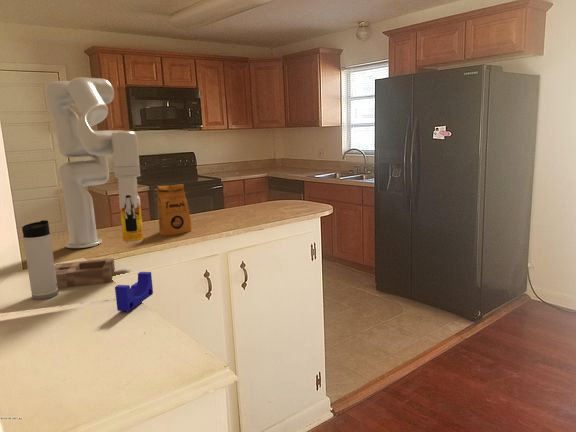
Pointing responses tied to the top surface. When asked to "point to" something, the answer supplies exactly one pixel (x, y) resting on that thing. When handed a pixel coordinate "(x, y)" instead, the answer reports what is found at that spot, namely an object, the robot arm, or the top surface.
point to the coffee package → (173, 210)
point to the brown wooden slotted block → (84, 272)
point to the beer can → (137, 235)
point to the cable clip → (134, 292)
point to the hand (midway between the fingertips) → (132, 228)
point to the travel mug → (40, 260)
